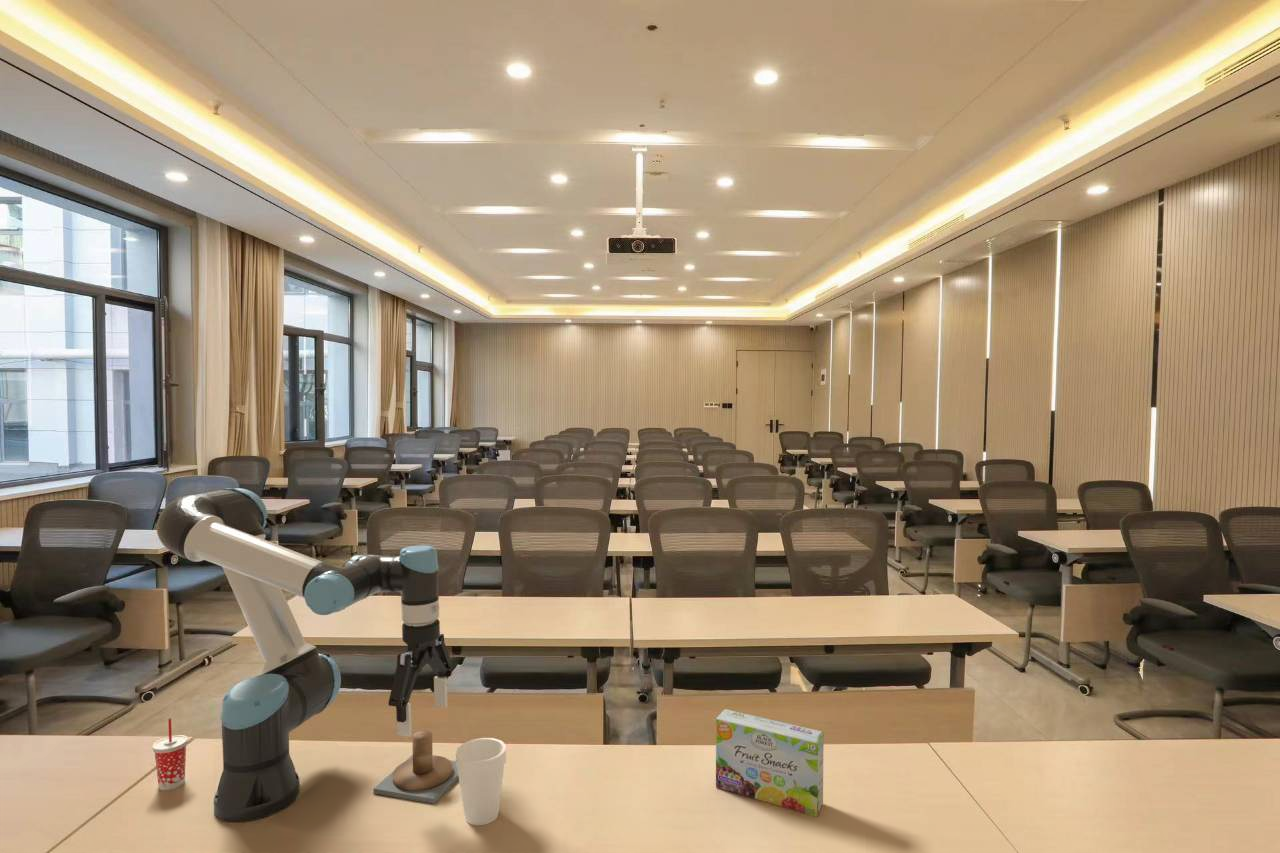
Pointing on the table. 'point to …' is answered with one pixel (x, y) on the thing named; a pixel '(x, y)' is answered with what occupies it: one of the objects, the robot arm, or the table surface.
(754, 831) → the table surface
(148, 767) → the table surface
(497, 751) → the foam cup
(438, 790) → the mat
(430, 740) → the lid
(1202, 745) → the table surface
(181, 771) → the beverage cup
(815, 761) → the snack box
